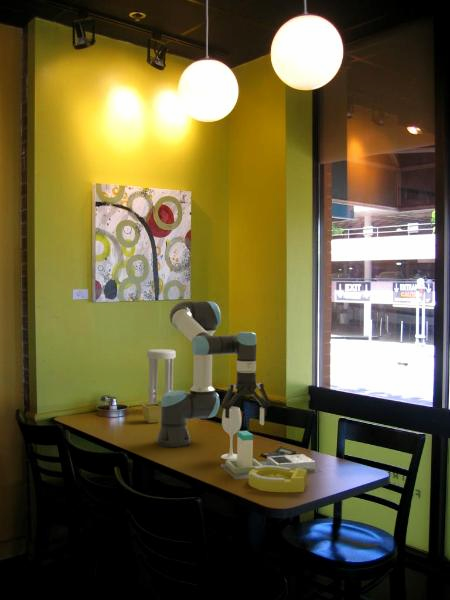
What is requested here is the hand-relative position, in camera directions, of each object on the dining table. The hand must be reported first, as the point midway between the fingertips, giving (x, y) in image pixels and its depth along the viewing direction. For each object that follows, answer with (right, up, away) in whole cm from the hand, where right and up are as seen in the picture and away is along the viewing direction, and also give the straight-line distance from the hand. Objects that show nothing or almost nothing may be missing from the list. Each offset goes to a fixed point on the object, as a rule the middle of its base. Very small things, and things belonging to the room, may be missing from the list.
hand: (245, 425), depth 245 cm
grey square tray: (0, -17, +1) cm, 17 cm away
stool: (-45, -14, +107) cm, 116 cm away
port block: (+18, -17, +2) cm, 25 cm away
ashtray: (+11, -18, -18) cm, 28 cm away
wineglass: (-6, -17, +17) cm, 25 cm away
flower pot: (-46, -15, +82) cm, 95 cm away
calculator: (+14, -18, +19) cm, 30 cm away
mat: (+10, -18, +1) cm, 20 cm away
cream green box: (0, -17, +1) cm, 17 cm away
